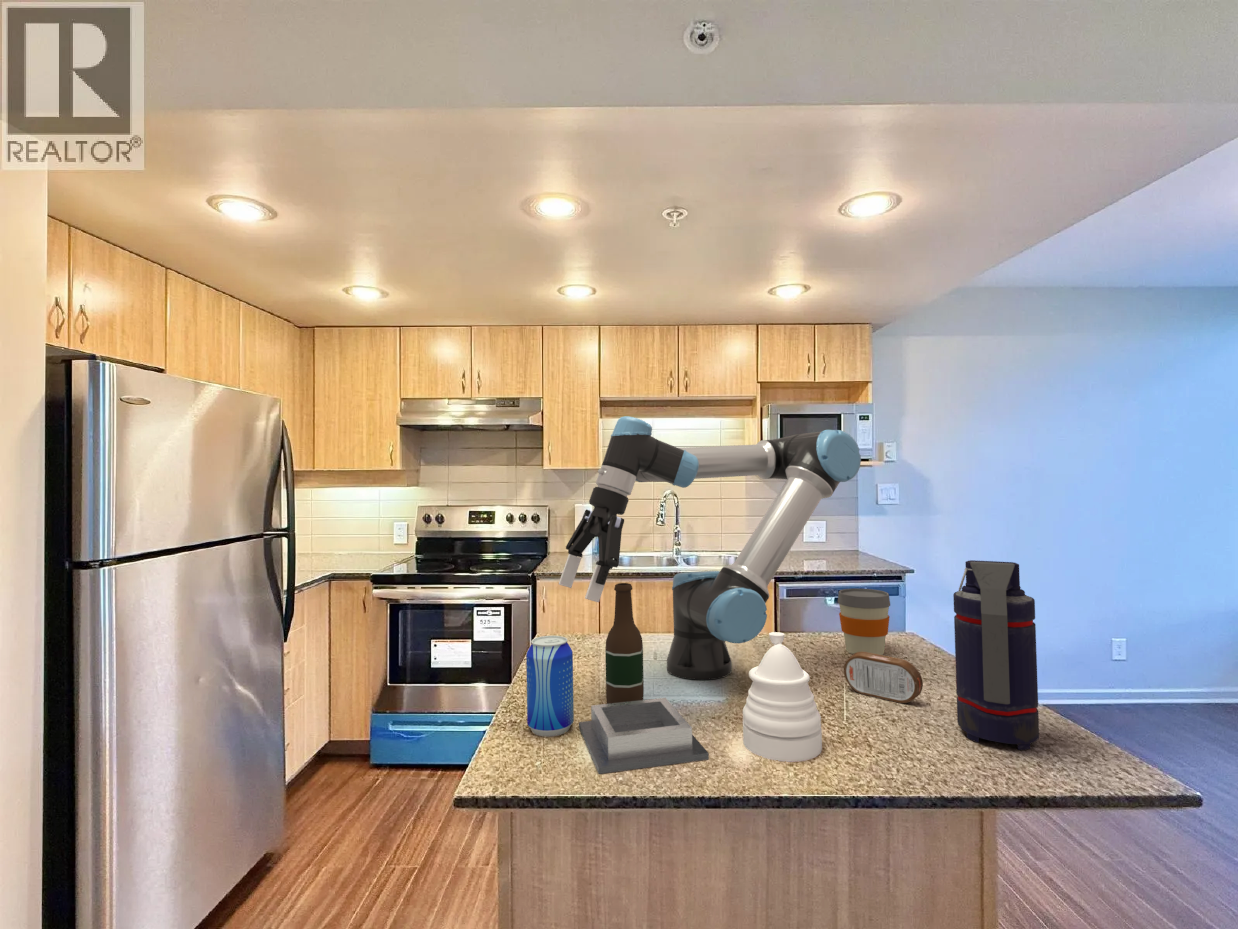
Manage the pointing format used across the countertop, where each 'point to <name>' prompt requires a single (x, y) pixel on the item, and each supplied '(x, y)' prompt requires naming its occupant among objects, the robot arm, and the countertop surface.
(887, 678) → the tin
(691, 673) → the robot arm
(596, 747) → the silver square tray
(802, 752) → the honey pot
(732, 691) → the countertop surface
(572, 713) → the beer can
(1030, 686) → the grenade
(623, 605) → the beer bottle
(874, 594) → the reusable coffee cup
